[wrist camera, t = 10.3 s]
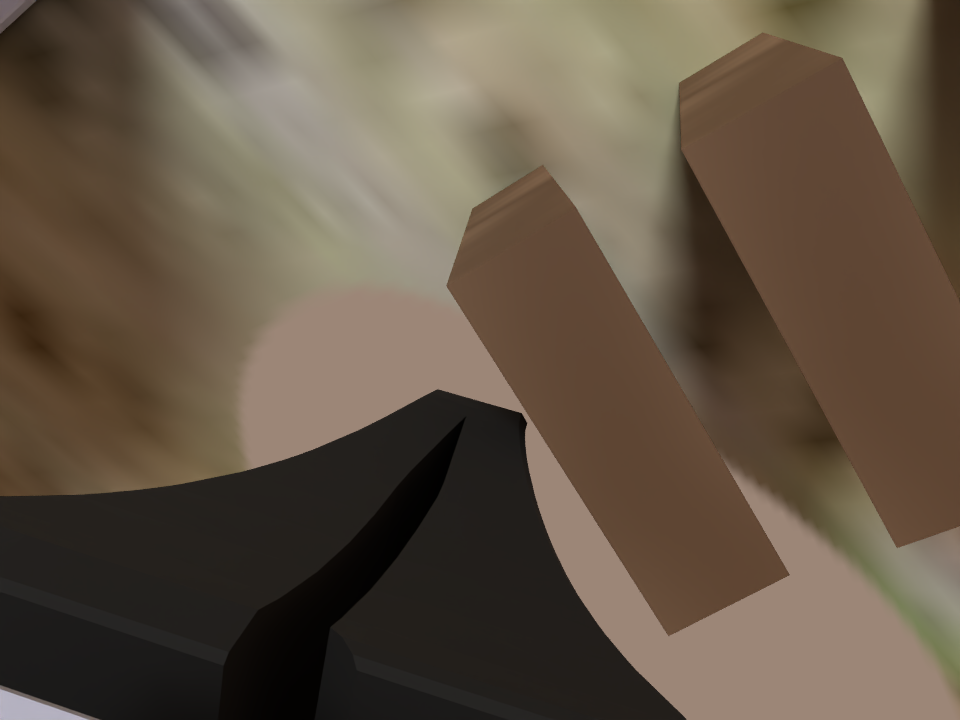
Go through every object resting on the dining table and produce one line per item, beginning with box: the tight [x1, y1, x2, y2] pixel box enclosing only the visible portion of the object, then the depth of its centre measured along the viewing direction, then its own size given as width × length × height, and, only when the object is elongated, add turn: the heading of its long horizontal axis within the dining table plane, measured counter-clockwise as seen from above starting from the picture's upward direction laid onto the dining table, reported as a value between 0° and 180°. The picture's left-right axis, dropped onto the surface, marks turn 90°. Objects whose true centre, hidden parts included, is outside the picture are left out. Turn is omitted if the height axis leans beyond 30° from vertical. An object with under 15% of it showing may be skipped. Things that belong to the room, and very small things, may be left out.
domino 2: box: [679, 33, 960, 548], centre depth 12 cm, size 2×5×8 cm, turn 32°
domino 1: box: [447, 165, 789, 636], centre depth 14 cm, size 2×5×8 cm, turn 33°
